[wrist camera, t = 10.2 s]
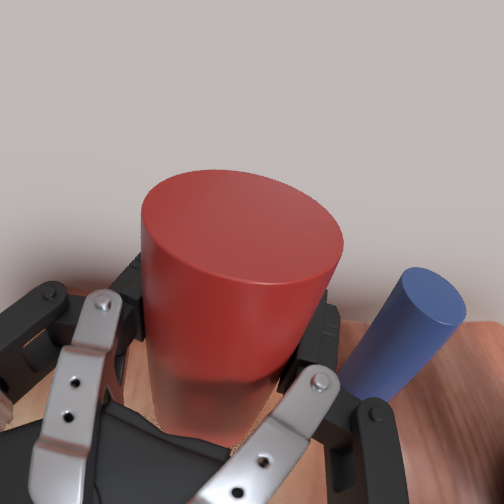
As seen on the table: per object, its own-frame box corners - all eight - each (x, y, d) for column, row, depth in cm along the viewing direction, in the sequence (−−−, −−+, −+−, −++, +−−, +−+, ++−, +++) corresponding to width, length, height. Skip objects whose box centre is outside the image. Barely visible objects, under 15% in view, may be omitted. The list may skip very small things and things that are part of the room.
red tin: (143, 438, 12) (103, 249, 5) (167, 356, 16) (176, 158, 9) (249, 459, 12) (361, 304, 6) (257, 375, 16) (330, 192, 10)
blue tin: (335, 413, 21) (415, 319, 14) (331, 361, 25) (392, 260, 18) (390, 414, 21) (477, 327, 14) (381, 366, 25) (449, 274, 18)
